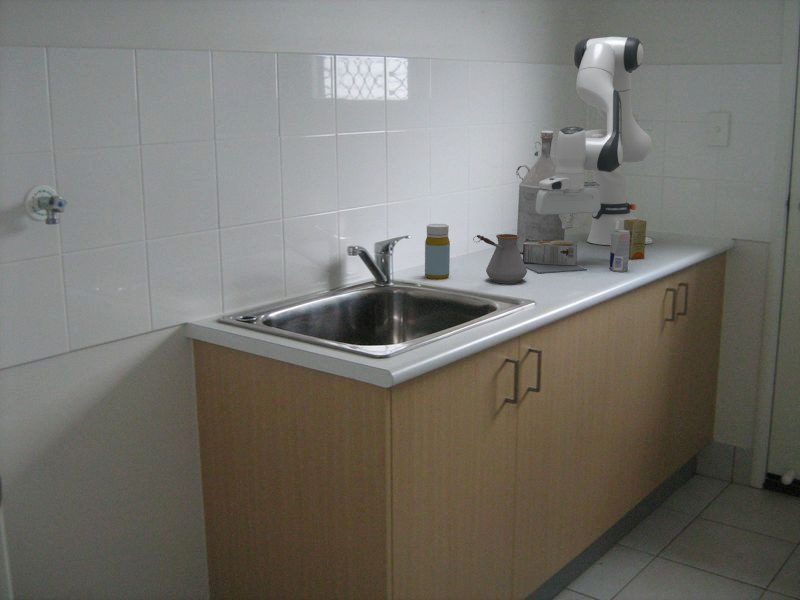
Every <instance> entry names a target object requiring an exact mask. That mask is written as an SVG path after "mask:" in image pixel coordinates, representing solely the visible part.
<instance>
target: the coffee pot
mask: <svg viewBox="0 0 800 600" xmlns="http://www.w3.org/2000/svg"><path fill="white" fill-rule="evenodd" d="M475 238H478V239H479V240H478V241H476V240H475ZM495 238H496V239H497V243H495V242H494V241H492V240H491V239H490V238H488V237H485V236H483V235H479V234H477V235H475V236H474V237H473V243H477V244H478V243H479V242H480V241H483V242H484V243H486V244H488V245H490V246H494V247H495V248H494V252H493V254H492V256H491V258H490V260H489V262H488V265H487V267H486V269H485V271H486V274H487V276H488V277H489V278H490V279H492V282H494V283H497V284H516V283H519V282H521V280H523V279H524V278H525V277H526V275H527V273H528V269H527V268H526V267H525V264H524V262H523V256H522V253H521V252H520V251H519V249H518V246H517V244H516V243H517V239H518V238H519V236H518V235H517V234H513V233H512V234H511V233H509V234H508V233H502V234H496V235H495Z"/></svg>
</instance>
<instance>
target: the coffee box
mask: <svg viewBox="0 0 800 600" xmlns="http://www.w3.org/2000/svg"><path fill="white" fill-rule="evenodd" d="M577 257H578V240H569V239H567V240H566V239H564V240H541V239H526V240H525V242H524V244H523V253H522V259H523V262H524V263H529V264H551V265H574V266H575V265H577V264H576V263H577V260H578V258H577Z"/></svg>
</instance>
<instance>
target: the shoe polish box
mask: <svg viewBox="0 0 800 600" xmlns="http://www.w3.org/2000/svg"><path fill="white" fill-rule="evenodd" d="M646 229H647V221H646V220H641V219H638V218H637V219H633V220H624V230H629V232H630V243H629V259H628V260H631V261H633V260H644V259H645V247H646V244H645V236H646V237H647V232H646V231H647V230H646Z"/></svg>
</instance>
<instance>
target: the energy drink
mask: <svg viewBox="0 0 800 600" xmlns="http://www.w3.org/2000/svg"><path fill="white" fill-rule="evenodd" d="M629 243H630V232H629V230H624V229H615V230H612V233H611V245H610V249H609V250H610V255H609V268H608V269H609V270H610V271H611V272H615V273H616V272H617V273H625V272H627V271H629V260H630V259H629Z"/></svg>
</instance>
